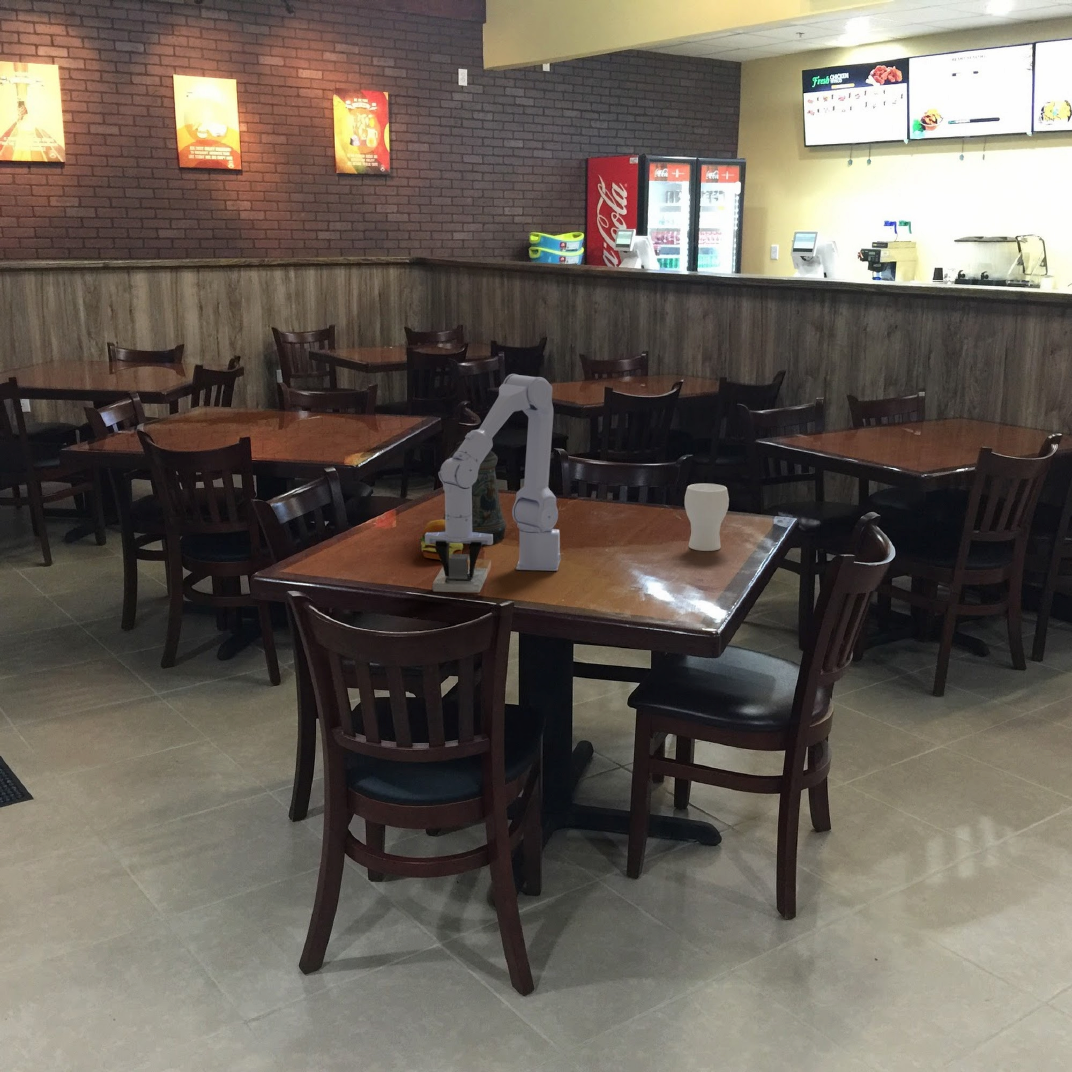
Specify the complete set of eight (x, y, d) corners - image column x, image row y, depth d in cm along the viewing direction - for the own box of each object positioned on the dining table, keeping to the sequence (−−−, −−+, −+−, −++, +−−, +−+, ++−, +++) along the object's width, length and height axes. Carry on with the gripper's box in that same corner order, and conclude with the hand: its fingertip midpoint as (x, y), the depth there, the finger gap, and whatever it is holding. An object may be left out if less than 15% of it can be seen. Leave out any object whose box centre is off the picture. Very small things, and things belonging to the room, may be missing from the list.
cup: (725, 554, 271) (728, 492, 267) (681, 551, 273) (683, 490, 269) (727, 543, 281) (730, 483, 277) (684, 540, 283) (686, 482, 280)
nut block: (470, 583, 247) (469, 554, 246) (467, 588, 244) (467, 559, 242) (451, 582, 248) (451, 553, 246) (449, 587, 244) (448, 558, 242)
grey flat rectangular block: (491, 566, 260) (491, 559, 259) (479, 592, 240) (479, 584, 240) (448, 565, 260) (447, 558, 260) (432, 591, 241) (432, 583, 241)
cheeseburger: (425, 563, 262) (421, 520, 261) (418, 562, 272) (414, 521, 272) (468, 560, 264) (464, 517, 264) (459, 559, 275) (455, 518, 274)
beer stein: (477, 549, 275) (476, 447, 269) (418, 536, 286) (416, 439, 280) (519, 535, 288) (519, 438, 281) (461, 524, 299) (460, 430, 293)
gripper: (421, 518, 238) (423, 579, 242) (489, 519, 237) (490, 581, 241) (427, 510, 245) (428, 570, 249) (494, 512, 244) (494, 572, 247)
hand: (459, 575), depth 245 cm, fingers open, 5 cm apart
